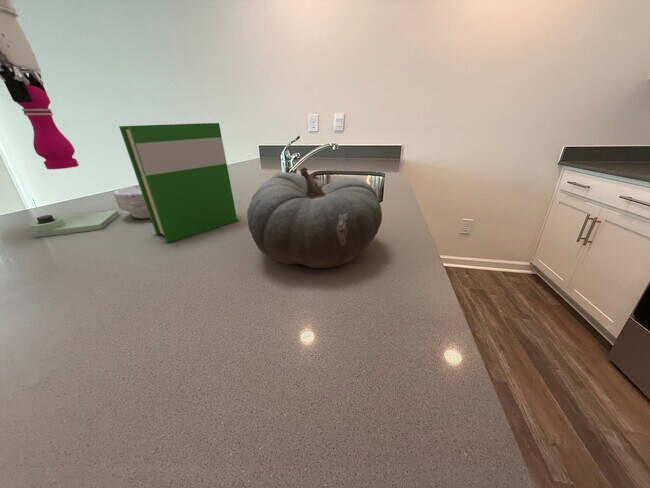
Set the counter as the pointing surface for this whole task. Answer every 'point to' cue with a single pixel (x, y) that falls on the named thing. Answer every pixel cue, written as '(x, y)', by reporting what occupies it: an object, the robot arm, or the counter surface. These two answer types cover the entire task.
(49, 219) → the button
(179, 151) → the hardback book
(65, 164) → the pepper mill
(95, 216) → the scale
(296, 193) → the gourd
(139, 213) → the paper bowls
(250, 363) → the counter surface
